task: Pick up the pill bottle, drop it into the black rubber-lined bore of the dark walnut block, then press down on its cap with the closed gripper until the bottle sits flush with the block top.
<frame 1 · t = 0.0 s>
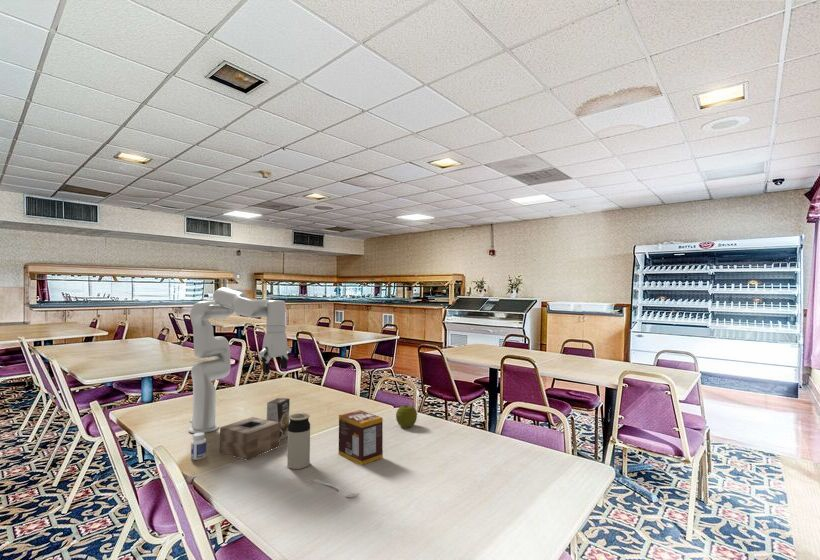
hand: (275, 370, 170), 31 cm above the table, tool pointing down, fingers open, 9 cm apart
supplement box: (360, 456, 160), on the table
apple: (406, 427, 196), on the table
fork: (332, 489, 134), on the table
travel mug: (298, 465, 151), on the table
band block: (250, 449, 166), on the table
pill bottle: (198, 457, 158), on the table
coffee box: (277, 437, 180), on the table
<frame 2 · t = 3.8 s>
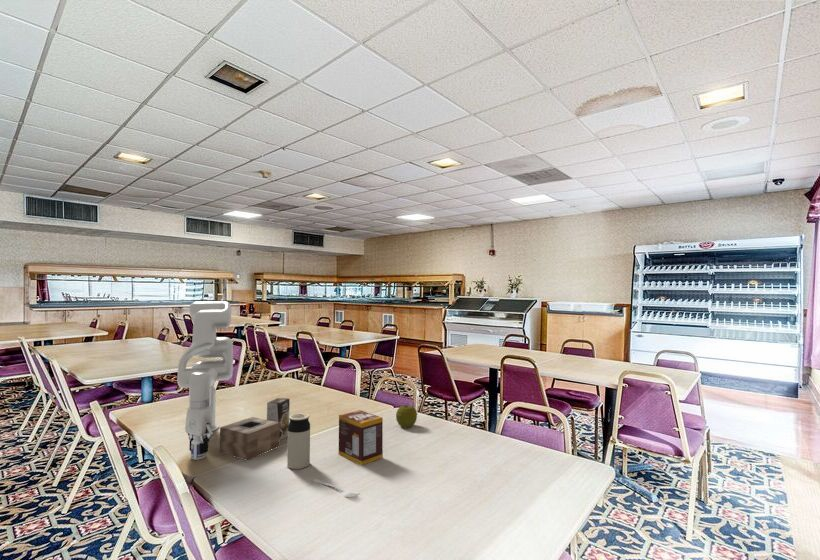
hand: (198, 450, 158), 3 cm above the table, tool pointing down, fingers closed on pill bottle, 5 cm apart
pill bottle: (198, 457, 158), on the table, touching gripper
everything else where it was.
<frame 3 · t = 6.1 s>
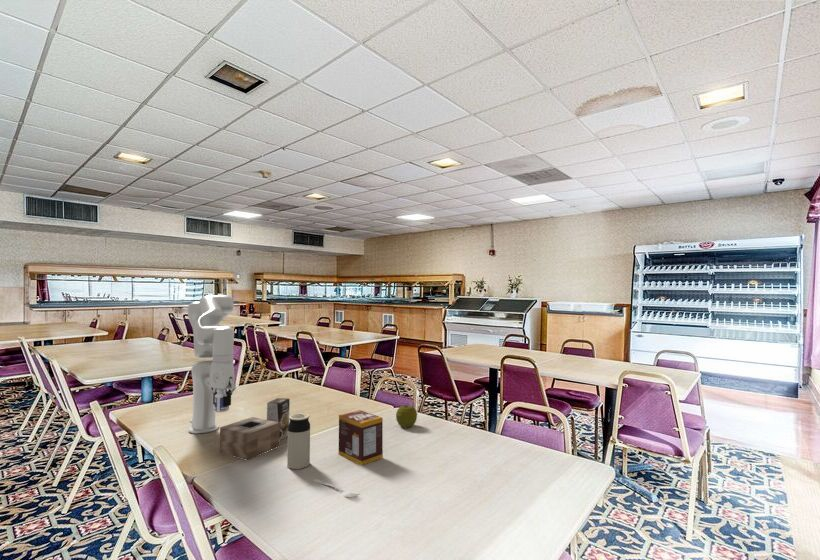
hand: (222, 404, 162), 19 cm above the table, tool pointing down, fingers closed on pill bottle, 5 cm apart
pill bottle: (221, 411, 162), point 17 cm above the table, touching gripper
everything else where it was.
when the fingers open (11 cm above the table, at t = 8.6 s): pill bottle drops 8 cm, resting on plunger.
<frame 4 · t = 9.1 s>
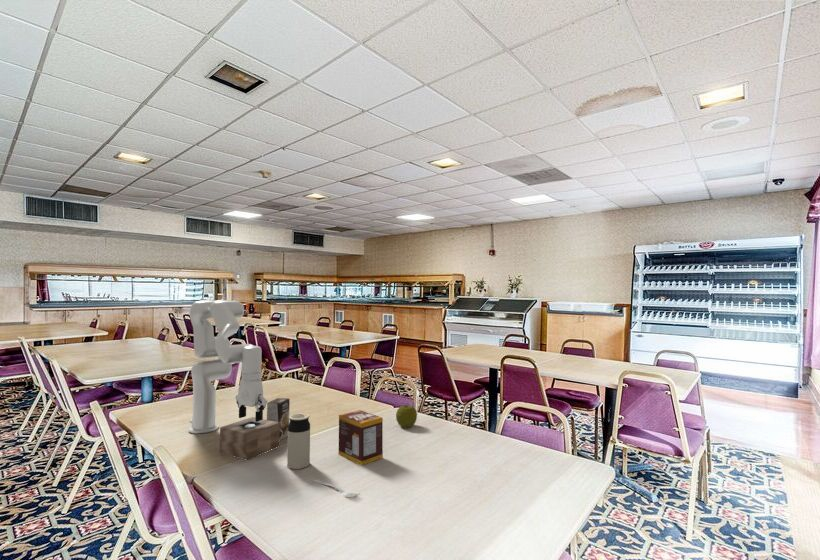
hand: (250, 418, 166), 12 cm above the table, tool pointing down, fingers open, 9 cm apart
pill bottle: (249, 448, 166), point 1 cm above the table, touching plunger
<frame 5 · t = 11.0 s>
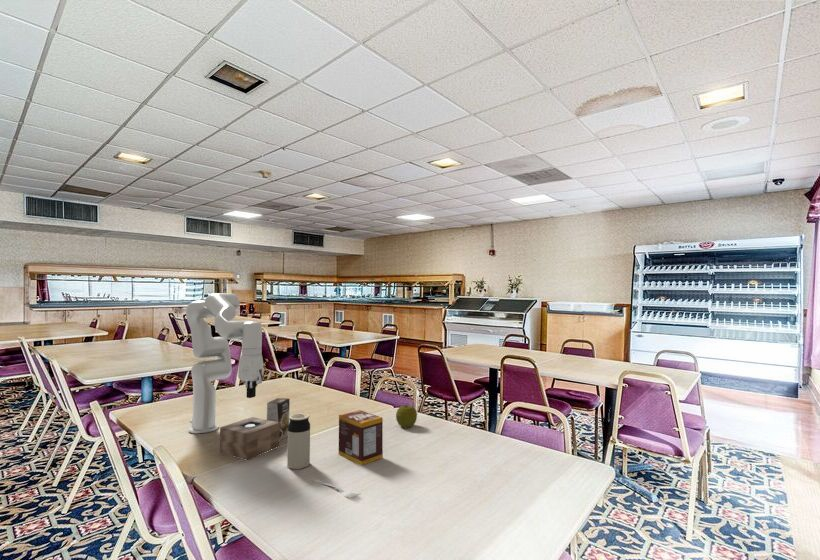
hand: (251, 397, 167), 21 cm above the table, tool pointing down, fingers closed
nothing on the table moved.
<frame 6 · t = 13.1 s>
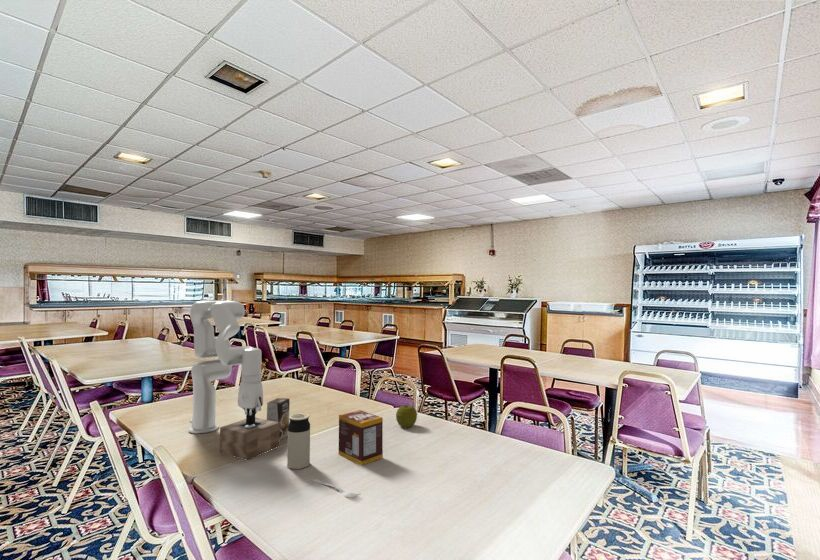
hand: (250, 424, 166), 10 cm above the table, tool pointing down, fingers closed
nothing on the table moved.
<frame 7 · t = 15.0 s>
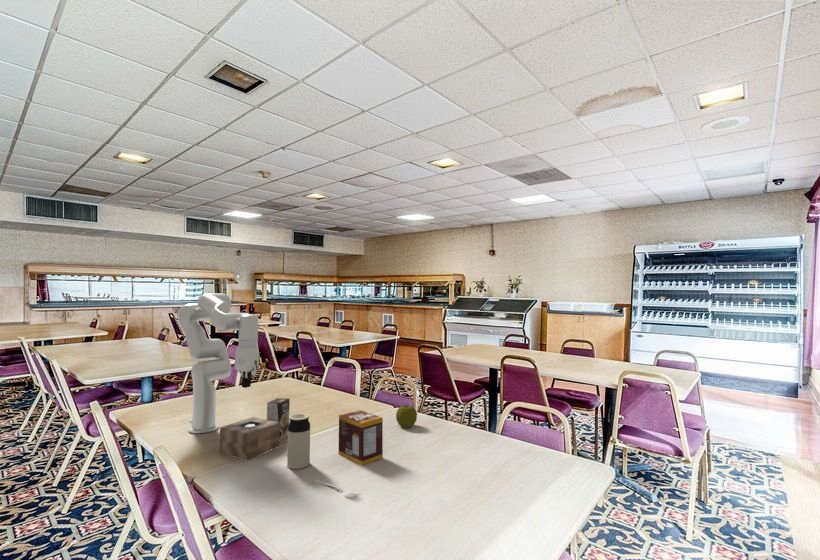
hand: (246, 386, 173), 24 cm above the table, tool pointing down, fingers closed
nothing on the table moved.
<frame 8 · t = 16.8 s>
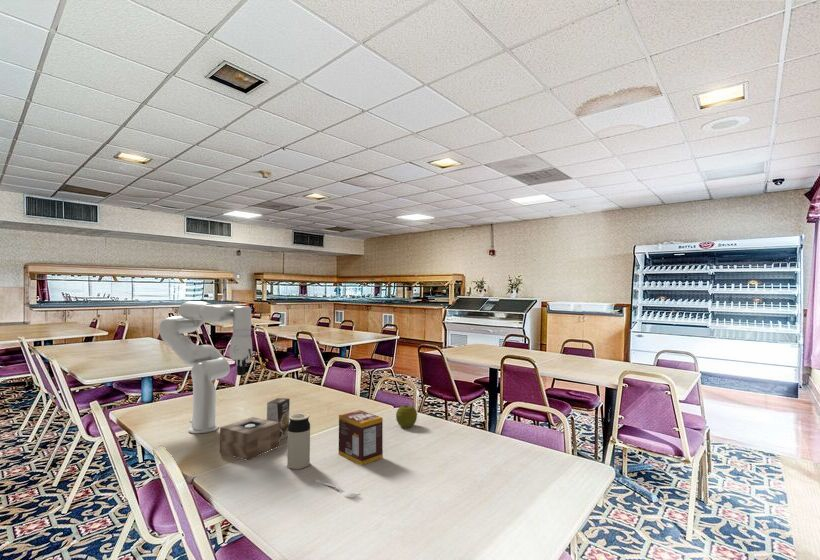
hand: (241, 374, 183), 27 cm above the table, tool pointing down, fingers closed
nothing on the table moved.
at the end: pill bottle 0.2 cm off-centre on the band block, point 0.6 cm above the band block's base; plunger slide at 5.7 cm; pill bottle tilted 0° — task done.
